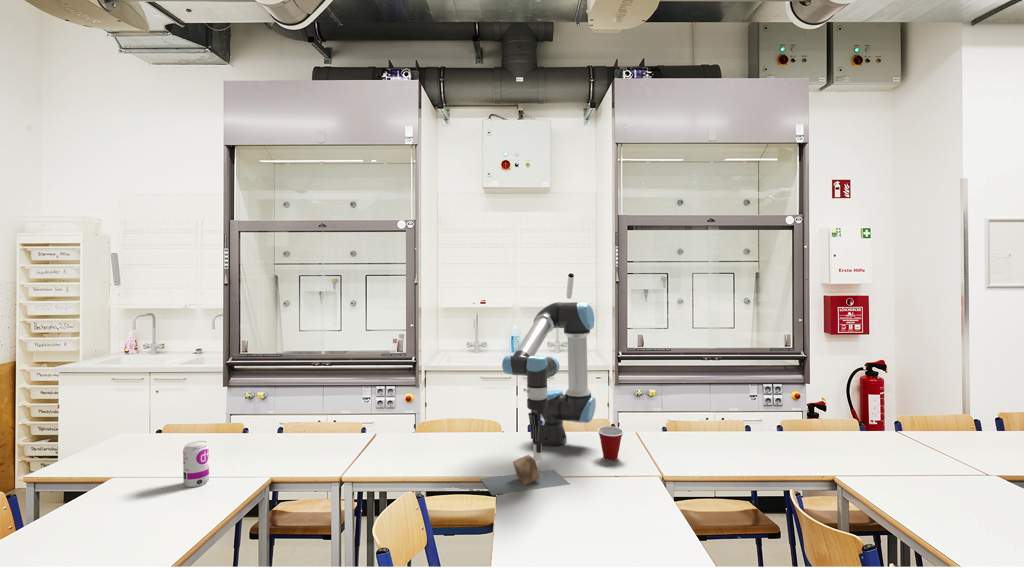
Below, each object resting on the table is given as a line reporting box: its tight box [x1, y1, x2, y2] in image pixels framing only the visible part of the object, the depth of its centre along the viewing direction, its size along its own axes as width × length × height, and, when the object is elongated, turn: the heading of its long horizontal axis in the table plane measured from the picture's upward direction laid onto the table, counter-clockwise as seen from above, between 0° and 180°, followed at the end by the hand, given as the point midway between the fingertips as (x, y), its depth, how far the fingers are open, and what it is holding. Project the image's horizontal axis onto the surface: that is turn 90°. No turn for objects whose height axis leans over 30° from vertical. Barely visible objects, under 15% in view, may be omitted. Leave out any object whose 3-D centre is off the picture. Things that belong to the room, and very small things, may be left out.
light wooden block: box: [512, 453, 541, 485], centre depth 204 cm, size 7×7×7 cm
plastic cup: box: [597, 425, 624, 461], centre depth 230 cm, size 11×11×12 cm
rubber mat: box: [479, 469, 571, 496], centre depth 204 cm, size 30×16×1 cm, turn 108°
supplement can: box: [182, 440, 210, 488], centre depth 204 cm, size 8×8×15 cm
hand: (537, 460), depth 205 cm, fingers closed
